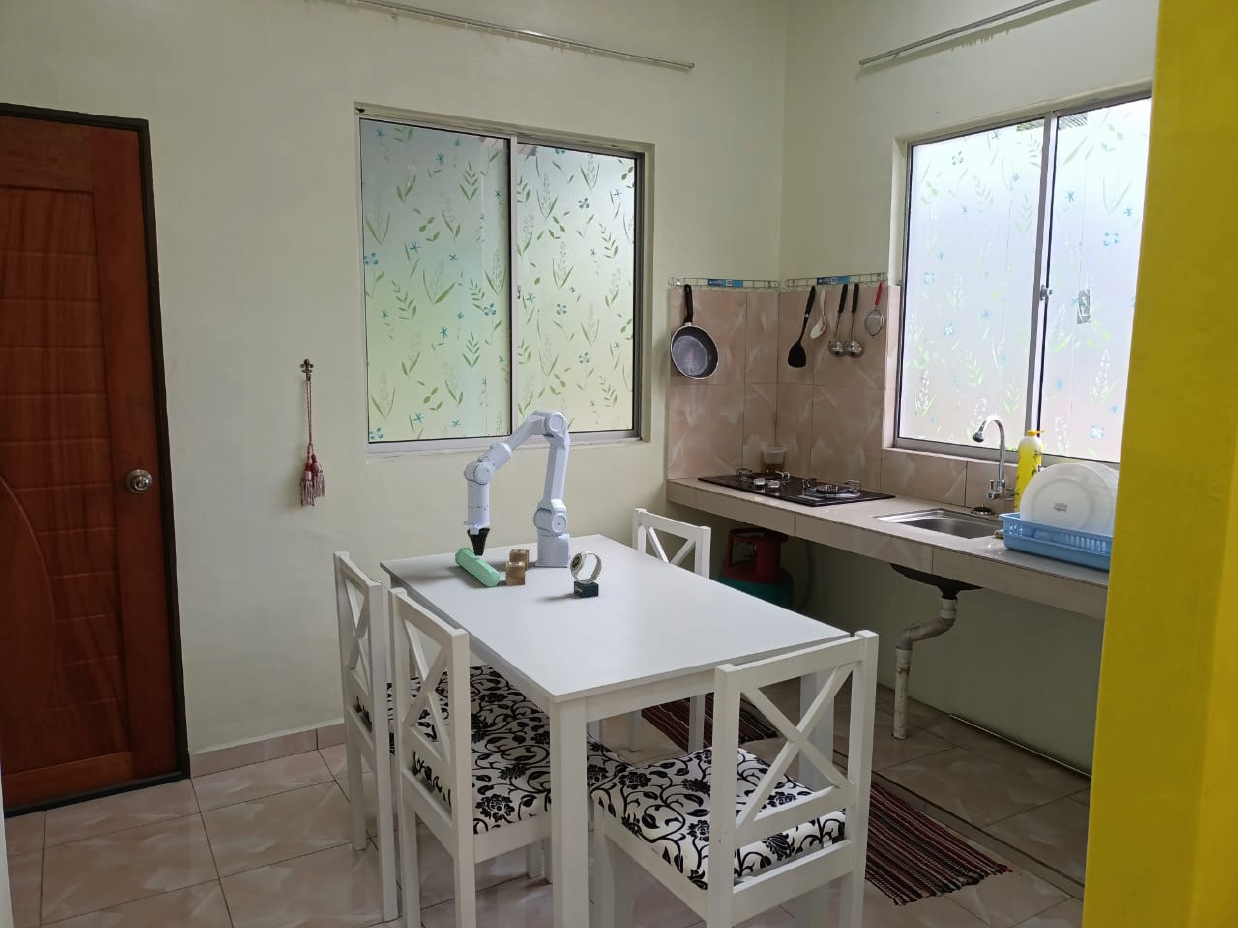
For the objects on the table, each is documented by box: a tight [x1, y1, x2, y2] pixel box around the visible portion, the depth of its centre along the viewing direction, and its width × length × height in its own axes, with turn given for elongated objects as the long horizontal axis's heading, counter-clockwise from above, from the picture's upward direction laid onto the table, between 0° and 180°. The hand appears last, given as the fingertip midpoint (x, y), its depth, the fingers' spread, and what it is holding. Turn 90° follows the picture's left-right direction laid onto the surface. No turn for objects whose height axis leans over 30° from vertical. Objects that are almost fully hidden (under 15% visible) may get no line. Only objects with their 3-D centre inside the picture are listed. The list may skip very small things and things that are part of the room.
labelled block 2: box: [504, 561, 526, 586], centre depth 240 cm, size 5×5×5 cm
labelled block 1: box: [508, 548, 530, 572], centre depth 254 cm, size 5×5×5 cm
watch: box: [569, 550, 603, 599], centre depth 229 cm, size 6×8×11 cm
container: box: [454, 547, 501, 588], centre depth 246 cm, size 6×6×25 cm
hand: (478, 555), depth 246 cm, fingers closed
